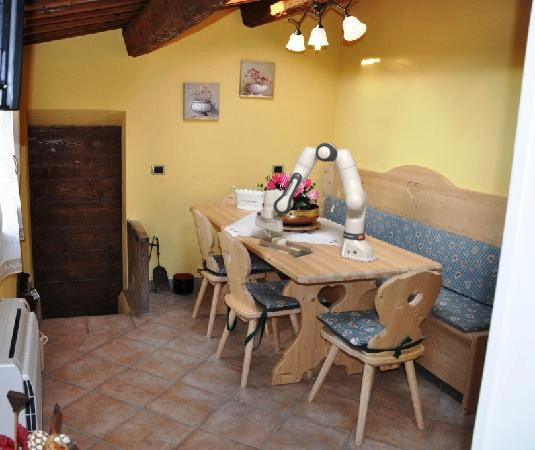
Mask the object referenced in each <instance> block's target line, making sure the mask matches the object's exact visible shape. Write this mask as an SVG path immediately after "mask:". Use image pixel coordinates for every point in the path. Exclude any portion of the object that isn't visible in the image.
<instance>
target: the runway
mask: <svg viewBox="0 0 535 450" xmlns="http://www.w3.org/2000/svg"><path fill="white" fill-rule="evenodd" d="M273 238H275V236H272V238H271V240H272V239H273ZM257 245H258V246H261V247H264V248H268V249H271V250H274V251H277V252H281V253H284V254H286V255H287V254H288V255H290V256H292V257H293V258H294V257H297V258H300V257H303V256H307V254H308V255H311V253H312V254H313V253H314V251H312V248H311V247H309V246H305V245H302V244H298V243H294V242H290V241H288V240H286V247H284V246H280V245H277V244H273V243H272V241H266V240H264V239H260V240H259V243H258V244H257ZM299 256H300V257H299Z"/></svg>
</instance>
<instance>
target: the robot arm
mask: <svg viewBox="0 0 535 450" xmlns="http://www.w3.org/2000/svg"><path fill="white" fill-rule="evenodd" d="M319 161H320V162H325V163H328V162H330V163H331V162H333V163H334V164H335V168H336V170H337V172H338V173H337V174H338V176H339V179H340V182H341V186H342V192H343V197H344V200H345V206H346V207H347V208H346V209H347V210H346V215H345V218H344V219H345V221H344V230H343V233H342V239H343V240H342V245H341V249H340V251H339V255H340V256H341V258H345V259H348V258H349V259H350V260H354V261H359V262H362V261H363V263H364V262H365V263H369V261H370V262H374V261H376V260H377V259H378V256H377V255H375V251H374V248H373V246H372V245H371V244H370V243H369V242H368V241H367V240H366V237H367V235H368V234H365V232H364V231H365V229H364V228H365V221H366V219H365V218H366V213H367V209H368V208H367V206H368V202H369V200H368V199H369V197H368V196H369V195H368V193H367V192H366V191H365V190H364V189H363V186H362V181H361V177H360V173H359V171H358V167H357V164H356V161H355V158H354V156H353V154H352V152H351V150H349V149H348V148H341V149H337V146H336V145H335V144H334V143H333V142H328V141H326V142H325V141H324V142H322V143H320V144H319V145H317V146H316V147H313V146H305V147H303V148H302V150H301V152H300V153H299V154H298V156H297V158H296V160H295V163H294V165H293V167H292V170H291V174H290V177H289V180H288V182H287V184H286V187H285V188H284V190H283V191H281V190H279V189H278V188H275V187H270V188H268V189H266V190H265V191H264V194H263V200H262V201H263V207H262V210H259V211H256V213H255V214H256V216H255V221H254V223H255V227H258V228H261V229H263V230H264V234H265V233H266V236H267V237H268V238H271V237H272V236H271V234H272V232H273V231H274V232H278V233H279V232H281V233H282V232H283V231H284V228H283V227H284V224H283V221H284V220H283V218H282V219H281V217H277V214H280V215H282V216H283V215H284V216H285V215H287V214H288V213H289V212H290V210H291V209H292V208H293V206H294V196H295V194H296V192H297V190H298V188H299V187H300V186H301V185H302V184H303V183H304V182H305V180H307V179H308V177H309V176H310V175H311V173H312V171H313V169H314V167H315V165H316V164H317V162H319ZM268 230H269V233H268ZM266 236H265V237H266ZM267 237H266V238H267Z"/></svg>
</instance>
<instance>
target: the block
mask: <svg viewBox="0 0 535 450" xmlns="http://www.w3.org/2000/svg"><path fill="white" fill-rule="evenodd" d="M272 238H273V237H272ZM272 238H271V242H272V243H273V244H277V245H280V246H284V247H286V241H287V239H286V238H282V237H280V236H277V237H274V238H273V239H272Z"/></svg>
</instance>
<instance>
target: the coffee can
mask: <svg viewBox="0 0 535 450" xmlns="http://www.w3.org/2000/svg"><path fill="white" fill-rule="evenodd" d="M277 217H281V219H282V220H283V218H282V217H283V215H281V214H278V213H277ZM268 233H269V230H268ZM281 233H282V232H279V233H278V232H274V231H273V232H272V234H271V237H281ZM264 234H265V237H266V238H267V236H266V233H265V232H264Z"/></svg>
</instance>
